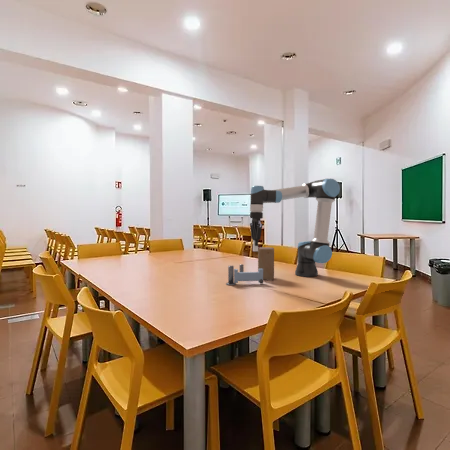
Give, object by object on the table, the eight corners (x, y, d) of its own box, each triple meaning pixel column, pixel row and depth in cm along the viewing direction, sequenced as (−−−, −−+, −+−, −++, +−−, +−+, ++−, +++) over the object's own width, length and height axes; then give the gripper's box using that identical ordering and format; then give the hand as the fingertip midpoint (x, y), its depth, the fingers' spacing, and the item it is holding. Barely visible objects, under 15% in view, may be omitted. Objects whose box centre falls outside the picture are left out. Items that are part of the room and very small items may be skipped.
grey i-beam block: (262, 282, 188) (262, 268, 188) (263, 283, 185) (263, 269, 185) (234, 282, 187) (234, 268, 187) (234, 284, 184) (234, 269, 184)
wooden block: (273, 280, 196) (273, 249, 195) (257, 280, 197) (257, 248, 197) (274, 277, 205) (274, 247, 205) (258, 276, 207) (259, 247, 206)
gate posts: (246, 278, 204) (246, 261, 203) (233, 285, 182) (233, 267, 182) (238, 277, 206) (238, 260, 205) (224, 284, 184) (224, 266, 184)
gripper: (267, 212, 180) (266, 252, 181) (257, 212, 192) (256, 249, 193) (255, 211, 178) (254, 252, 178) (246, 211, 190) (245, 250, 191)
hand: (255, 251), depth 186 cm, fingers closed
